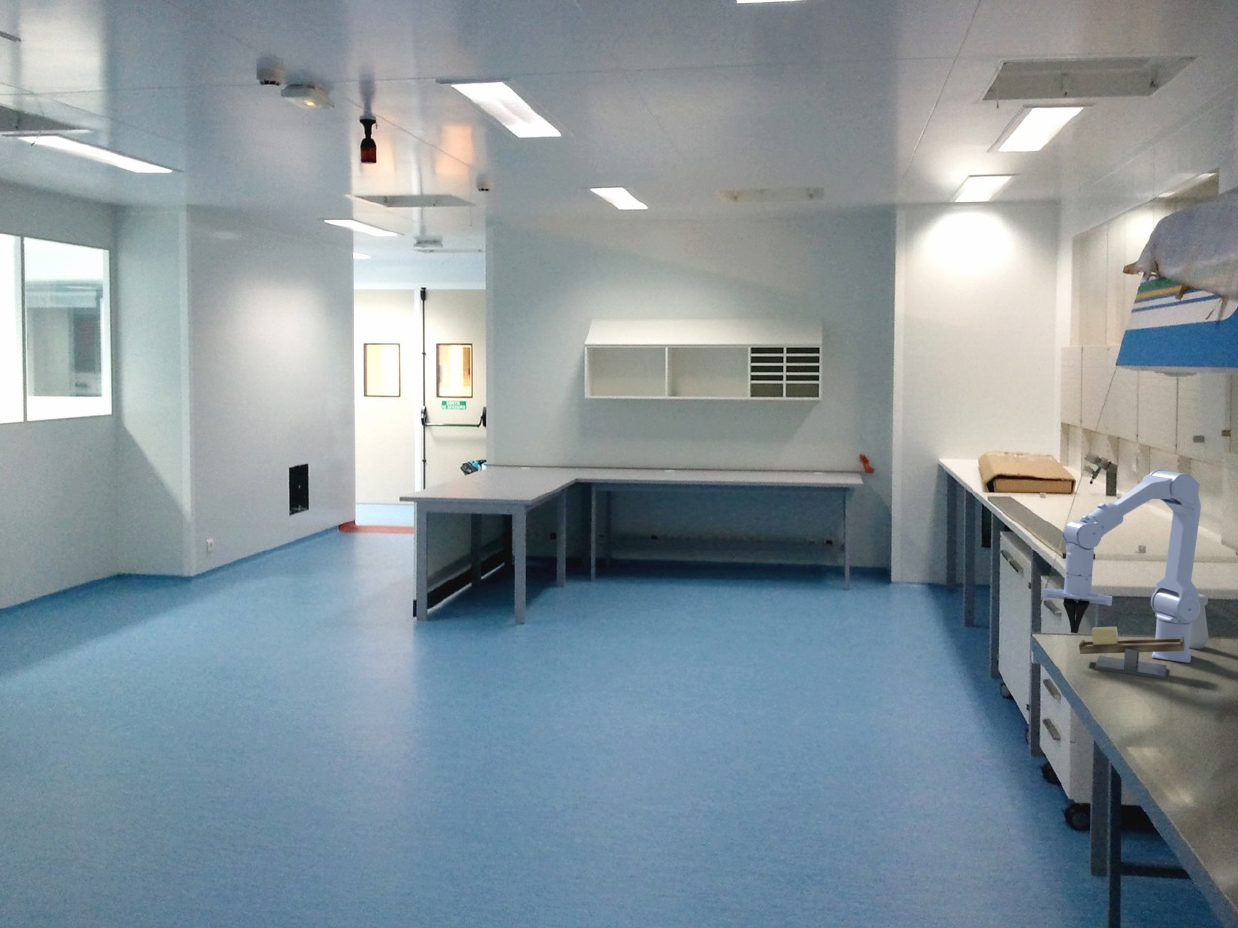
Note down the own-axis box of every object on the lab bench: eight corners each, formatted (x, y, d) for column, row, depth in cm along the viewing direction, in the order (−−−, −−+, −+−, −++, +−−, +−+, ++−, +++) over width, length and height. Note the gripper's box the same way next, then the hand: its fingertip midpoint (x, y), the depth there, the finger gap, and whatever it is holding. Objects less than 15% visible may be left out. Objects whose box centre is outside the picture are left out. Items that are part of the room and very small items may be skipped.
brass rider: (1095, 644, 246) (1092, 627, 246) (1119, 643, 244) (1116, 626, 244) (1093, 648, 243) (1091, 630, 243) (1117, 647, 241) (1115, 629, 241)
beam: (1080, 658, 243) (1078, 645, 243) (1083, 652, 249) (1082, 639, 249) (1184, 655, 233) (1182, 642, 233) (1185, 649, 239) (1183, 635, 239)
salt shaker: (1210, 650, 260) (1215, 597, 259) (1185, 648, 261) (1189, 596, 260) (1202, 644, 266) (1207, 593, 265) (1177, 642, 267) (1181, 591, 266)
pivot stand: (1099, 658, 249) (1100, 636, 249) (1166, 668, 242) (1168, 645, 242) (1094, 668, 240) (1096, 645, 240) (1164, 679, 234) (1166, 654, 233)
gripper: (1042, 572, 245) (1038, 630, 247) (1111, 580, 238) (1107, 640, 240) (1046, 568, 252) (1042, 624, 253) (1114, 575, 245) (1110, 633, 246)
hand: (1074, 632), depth 247 cm, fingers closed
